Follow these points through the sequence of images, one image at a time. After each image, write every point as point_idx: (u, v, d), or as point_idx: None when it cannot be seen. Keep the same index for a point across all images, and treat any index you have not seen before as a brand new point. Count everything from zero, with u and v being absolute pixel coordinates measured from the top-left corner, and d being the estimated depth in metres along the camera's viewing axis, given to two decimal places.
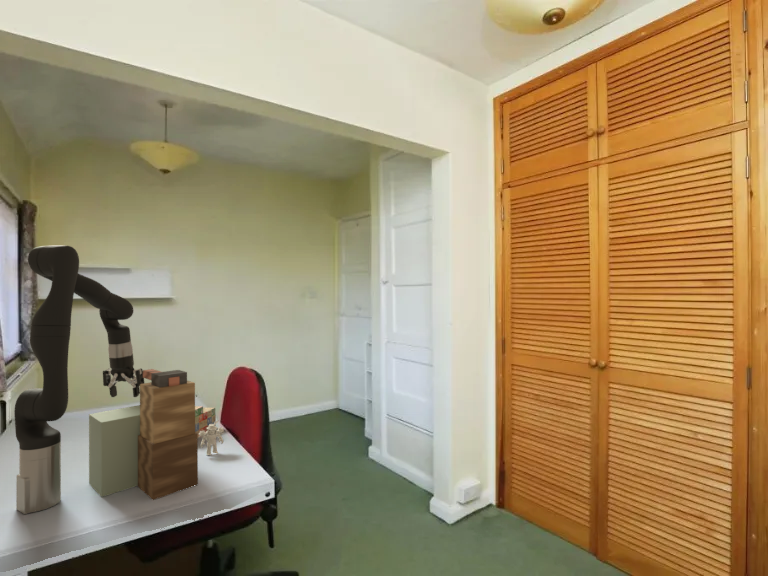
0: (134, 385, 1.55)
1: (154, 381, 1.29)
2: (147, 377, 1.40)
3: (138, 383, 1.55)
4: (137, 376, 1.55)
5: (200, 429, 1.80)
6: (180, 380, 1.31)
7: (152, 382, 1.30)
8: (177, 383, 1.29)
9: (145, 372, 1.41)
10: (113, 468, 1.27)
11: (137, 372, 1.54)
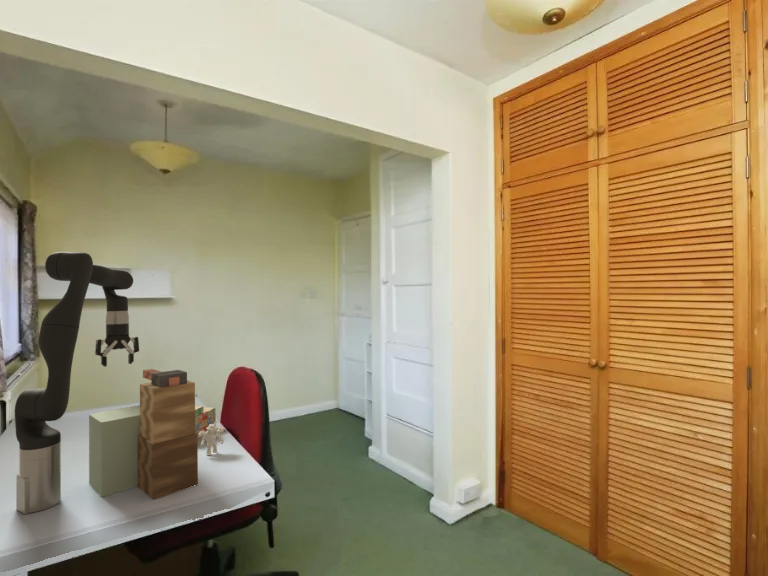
0: (132, 351, 1.65)
1: (154, 381, 1.29)
2: (147, 377, 1.40)
3: (137, 349, 1.66)
4: (137, 342, 1.67)
5: (200, 429, 1.80)
6: (180, 380, 1.31)
7: (152, 382, 1.30)
8: (177, 383, 1.29)
9: (145, 372, 1.41)
10: (113, 468, 1.27)
11: (137, 338, 1.67)
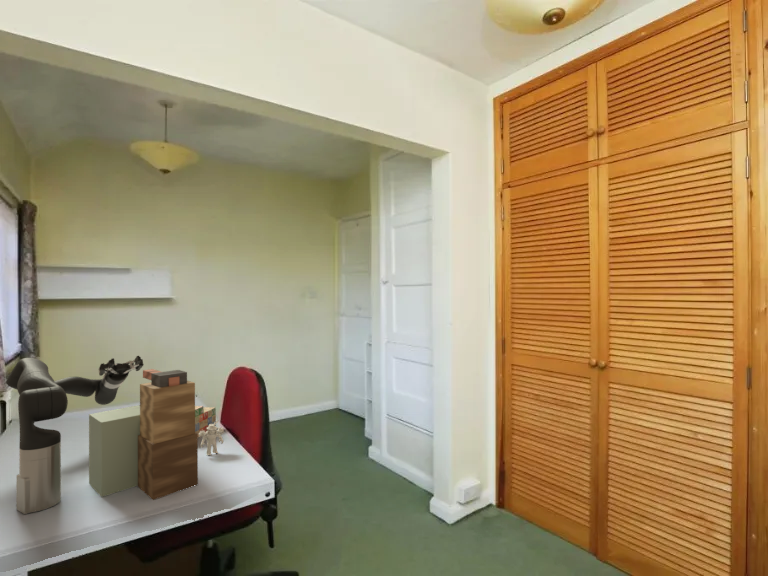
0: None
1: (154, 381, 1.29)
2: (147, 377, 1.40)
3: None
4: None
5: (200, 429, 1.80)
6: (180, 380, 1.31)
7: (152, 382, 1.30)
8: (177, 383, 1.29)
9: (145, 372, 1.41)
10: (113, 468, 1.27)
11: None
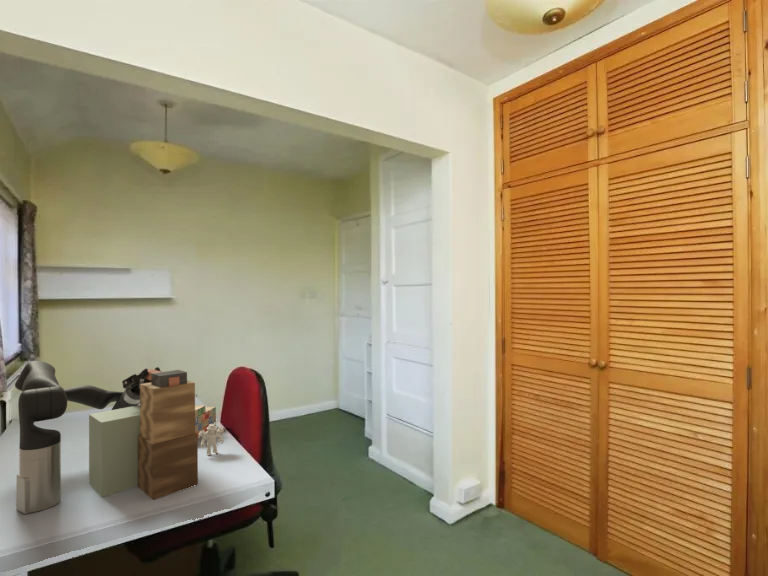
0: None
1: (154, 381, 1.29)
2: (147, 377, 1.40)
3: None
4: None
5: (203, 428, 1.81)
6: (180, 380, 1.31)
7: (152, 382, 1.30)
8: (177, 383, 1.29)
9: None
10: (113, 468, 1.27)
11: None
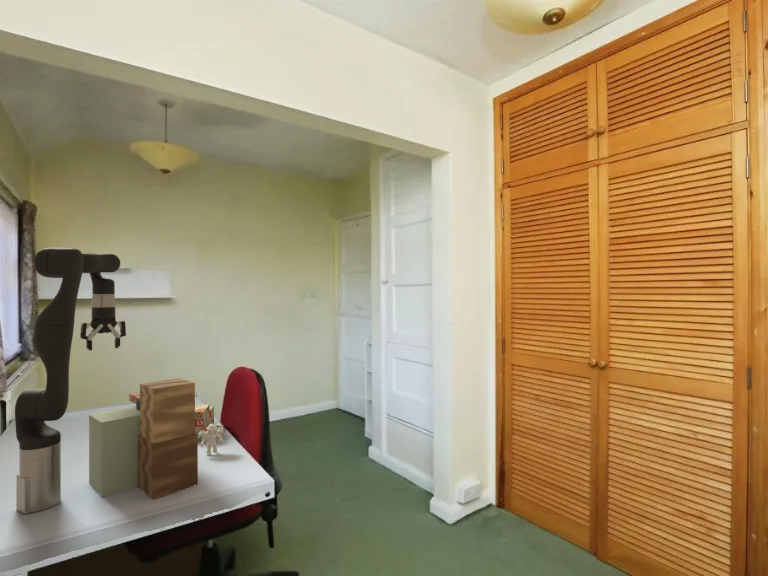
0: (119, 336, 1.62)
1: (138, 406, 1.38)
2: (133, 401, 1.50)
3: (123, 333, 1.63)
4: (124, 326, 1.63)
5: None
6: None
7: (137, 407, 1.40)
8: None
9: (131, 396, 1.51)
10: (113, 468, 1.27)
11: (124, 322, 1.63)
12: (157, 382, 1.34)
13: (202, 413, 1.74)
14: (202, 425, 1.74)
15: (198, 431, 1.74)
